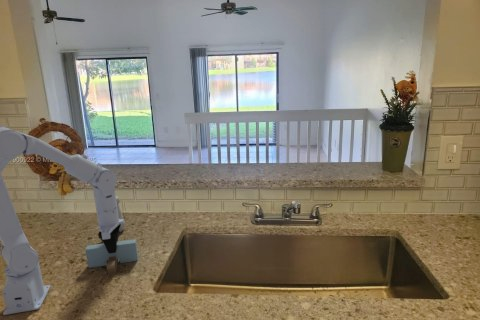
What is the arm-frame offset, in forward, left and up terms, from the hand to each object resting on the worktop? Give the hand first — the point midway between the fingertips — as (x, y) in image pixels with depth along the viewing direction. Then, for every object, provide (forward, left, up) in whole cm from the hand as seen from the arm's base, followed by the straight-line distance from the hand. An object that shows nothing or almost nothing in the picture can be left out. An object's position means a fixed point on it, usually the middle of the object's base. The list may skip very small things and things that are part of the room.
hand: (113, 250), depth 101 cm
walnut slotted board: (0, 0, -4) cm, 4 cm away
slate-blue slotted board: (0, 0, -4) cm, 4 cm away
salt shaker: (+22, +2, -4) cm, 22 cm away
